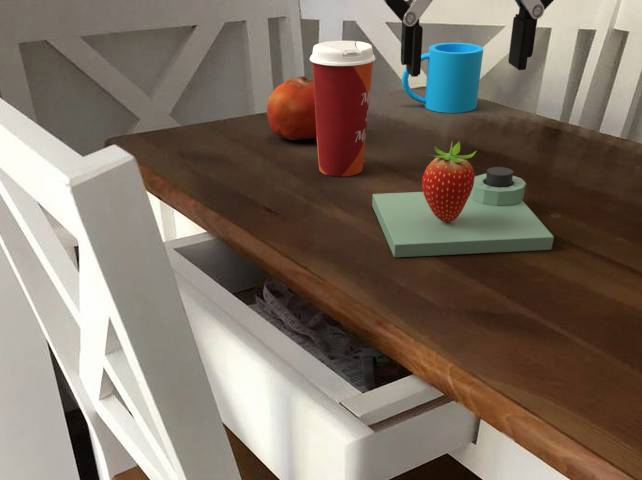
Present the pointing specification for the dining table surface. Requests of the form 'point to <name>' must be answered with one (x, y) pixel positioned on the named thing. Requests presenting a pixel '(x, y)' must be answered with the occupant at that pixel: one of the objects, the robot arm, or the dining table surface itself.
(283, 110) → the tomato
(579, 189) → the dining table surface
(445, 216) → the fruit
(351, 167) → the paper cup
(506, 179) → the button
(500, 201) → the scale
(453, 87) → the mug
